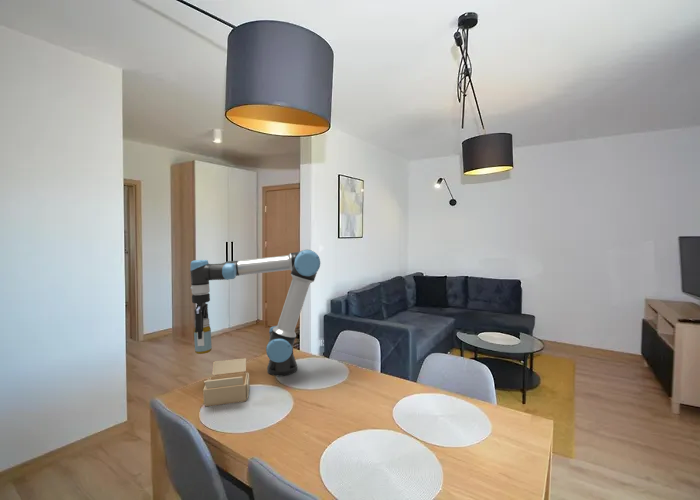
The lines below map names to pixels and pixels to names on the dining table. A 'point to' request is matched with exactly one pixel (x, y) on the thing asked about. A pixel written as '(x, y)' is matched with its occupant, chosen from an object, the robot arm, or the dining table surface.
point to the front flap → (223, 382)
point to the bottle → (207, 338)
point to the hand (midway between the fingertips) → (203, 343)
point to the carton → (227, 391)
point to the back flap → (229, 366)
